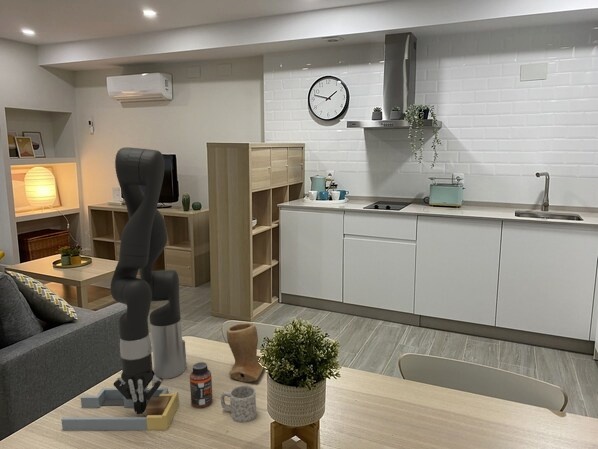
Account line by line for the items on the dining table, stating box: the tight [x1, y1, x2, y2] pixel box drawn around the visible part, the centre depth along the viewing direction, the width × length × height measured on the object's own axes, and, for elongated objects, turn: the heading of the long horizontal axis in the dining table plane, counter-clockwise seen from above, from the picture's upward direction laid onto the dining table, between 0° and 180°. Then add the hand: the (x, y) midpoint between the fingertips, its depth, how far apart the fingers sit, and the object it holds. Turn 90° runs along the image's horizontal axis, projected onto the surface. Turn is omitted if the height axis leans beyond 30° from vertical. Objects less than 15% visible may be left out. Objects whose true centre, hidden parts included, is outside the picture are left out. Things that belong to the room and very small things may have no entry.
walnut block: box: [145, 397, 170, 417], centre depth 123 cm, size 5×5×4 cm
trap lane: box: [61, 387, 170, 431], centre depth 126 cm, size 23×15×3 cm, turn 88°
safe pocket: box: [145, 391, 180, 431], centre depth 123 cm, size 5×11×4 cm, turn 178°
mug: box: [220, 385, 257, 423], centre depth 124 cm, size 10×7×7 cm
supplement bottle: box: [189, 361, 214, 409], centre depth 129 cm, size 6×6×11 cm
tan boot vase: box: [226, 322, 265, 383], centre depth 146 cm, size 15×12×15 cm
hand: (140, 412), depth 123 cm, fingers closed
